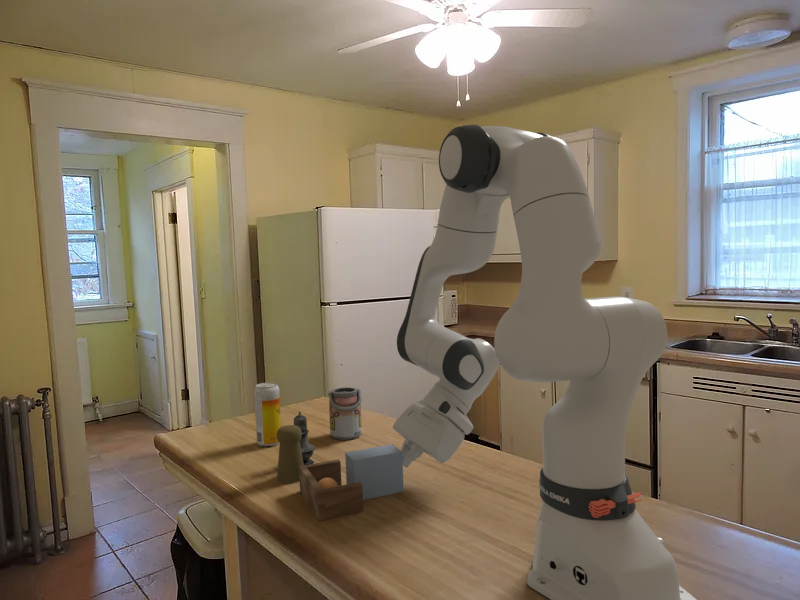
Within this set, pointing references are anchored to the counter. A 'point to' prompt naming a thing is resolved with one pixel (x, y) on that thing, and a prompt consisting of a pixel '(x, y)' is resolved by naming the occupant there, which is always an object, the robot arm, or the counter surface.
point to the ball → (327, 483)
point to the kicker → (376, 470)
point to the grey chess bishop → (304, 439)
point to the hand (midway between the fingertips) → (400, 463)
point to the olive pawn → (289, 454)
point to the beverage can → (345, 413)
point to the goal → (329, 491)
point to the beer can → (267, 413)
